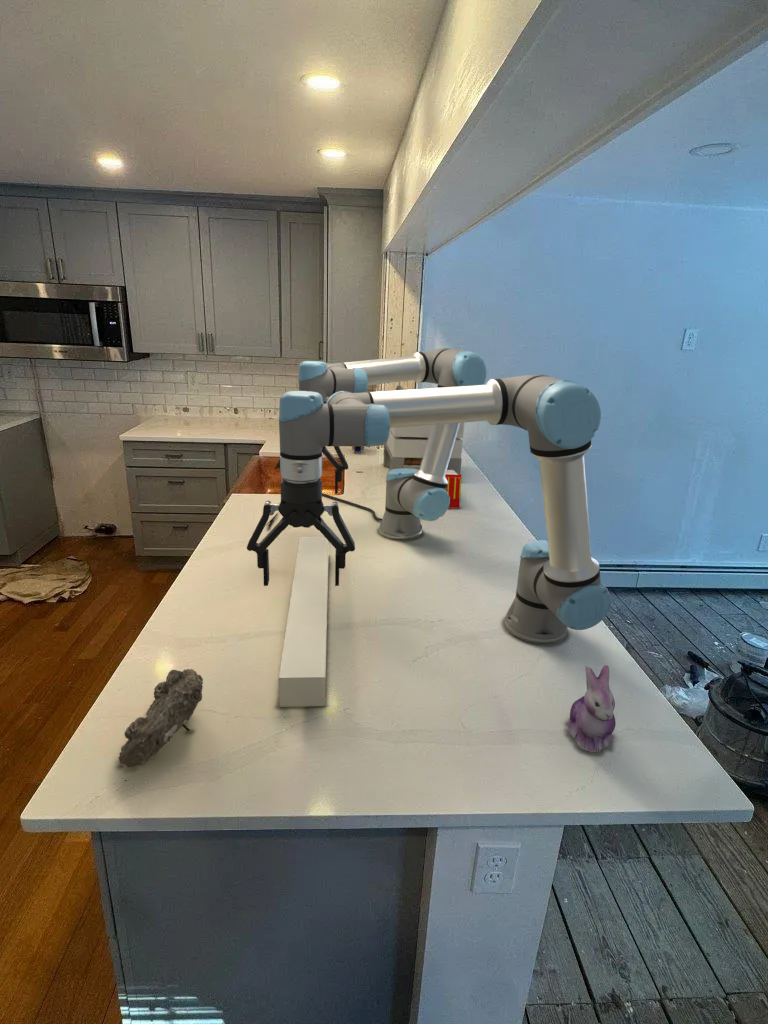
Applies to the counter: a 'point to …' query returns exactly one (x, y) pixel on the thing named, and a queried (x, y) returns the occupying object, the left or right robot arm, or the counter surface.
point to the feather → (271, 521)
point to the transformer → (416, 446)
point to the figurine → (594, 713)
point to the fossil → (162, 717)
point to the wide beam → (306, 628)
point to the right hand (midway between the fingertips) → (302, 582)
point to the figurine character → (357, 448)
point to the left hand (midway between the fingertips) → (312, 492)
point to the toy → (453, 488)
